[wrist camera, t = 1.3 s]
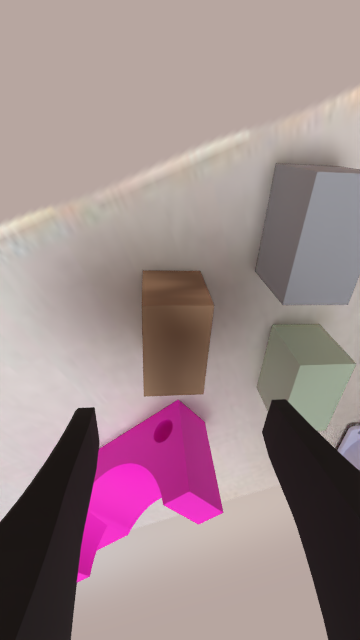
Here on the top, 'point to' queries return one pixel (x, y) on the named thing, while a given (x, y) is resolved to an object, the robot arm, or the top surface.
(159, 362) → the walnut brick
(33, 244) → the top surface
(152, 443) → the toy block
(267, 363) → the sage brick
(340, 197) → the slate brick
